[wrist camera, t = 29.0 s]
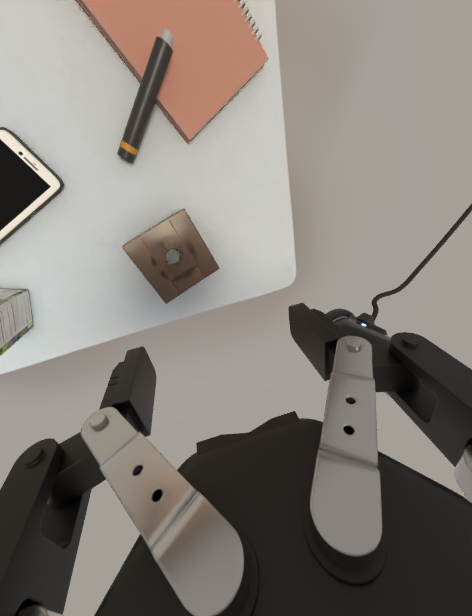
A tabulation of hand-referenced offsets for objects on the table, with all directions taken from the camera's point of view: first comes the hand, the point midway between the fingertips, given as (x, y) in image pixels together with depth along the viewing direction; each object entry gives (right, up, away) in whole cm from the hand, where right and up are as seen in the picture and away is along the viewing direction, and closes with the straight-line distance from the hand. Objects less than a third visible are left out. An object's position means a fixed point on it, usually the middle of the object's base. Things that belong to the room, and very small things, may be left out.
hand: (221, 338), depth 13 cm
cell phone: (-29, +15, +16) cm, 37 cm away
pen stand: (-10, +10, +26) cm, 29 cm away
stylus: (-7, +33, +14) cm, 36 cm away
